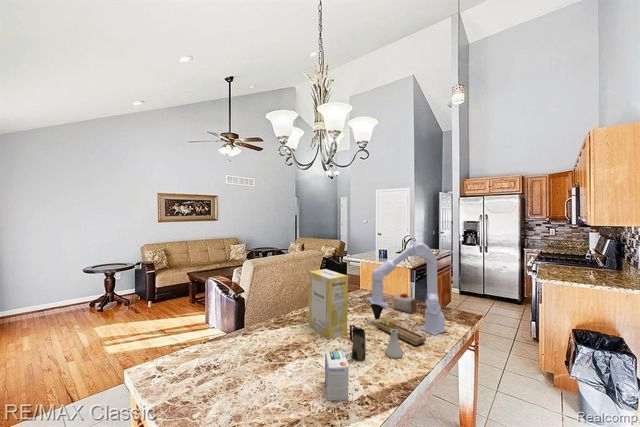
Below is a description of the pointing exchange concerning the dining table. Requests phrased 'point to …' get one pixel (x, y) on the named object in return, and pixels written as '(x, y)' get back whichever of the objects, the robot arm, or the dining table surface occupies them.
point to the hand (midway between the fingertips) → (377, 318)
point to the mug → (358, 343)
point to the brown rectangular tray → (404, 334)
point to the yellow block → (388, 322)
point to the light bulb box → (336, 375)
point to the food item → (405, 303)
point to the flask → (393, 346)
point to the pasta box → (328, 302)
